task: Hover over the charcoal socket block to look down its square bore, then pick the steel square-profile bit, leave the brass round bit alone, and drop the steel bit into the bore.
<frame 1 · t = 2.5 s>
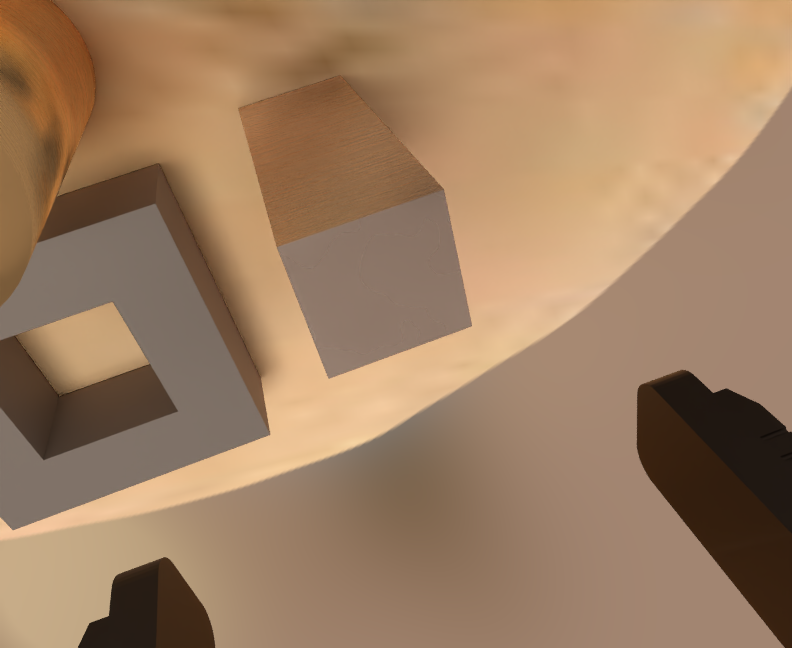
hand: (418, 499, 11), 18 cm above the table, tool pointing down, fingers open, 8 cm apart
square bit: (306, 142, 26), on the table
socket block: (88, 327, 27), on the table
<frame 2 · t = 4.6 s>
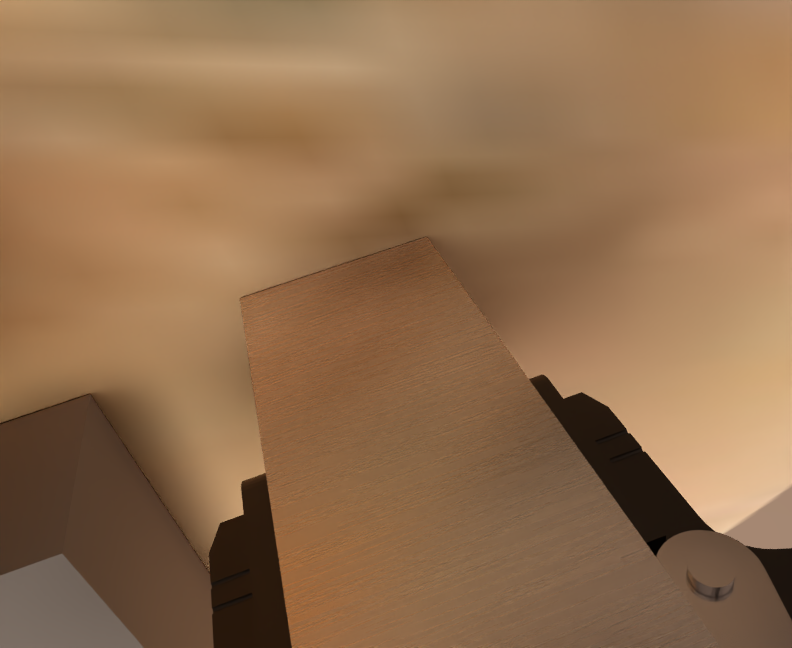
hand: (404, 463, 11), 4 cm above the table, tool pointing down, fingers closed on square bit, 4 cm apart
square bit: (358, 342, 15), on the table, touching gripper
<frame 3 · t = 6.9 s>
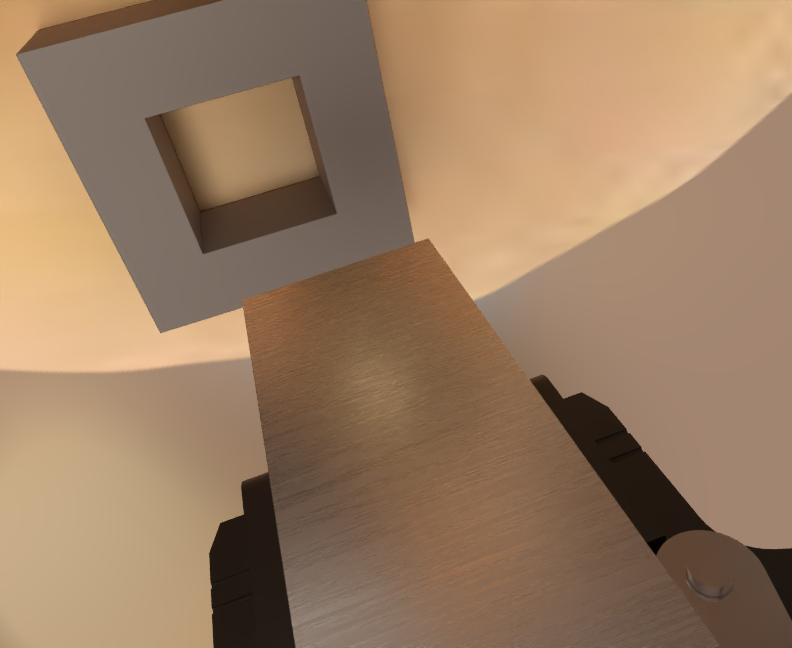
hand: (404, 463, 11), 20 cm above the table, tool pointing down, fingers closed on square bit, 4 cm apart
square bit: (360, 343, 15), point 16 cm above the table, touching gripper
socket block: (240, 135, 27), on the table
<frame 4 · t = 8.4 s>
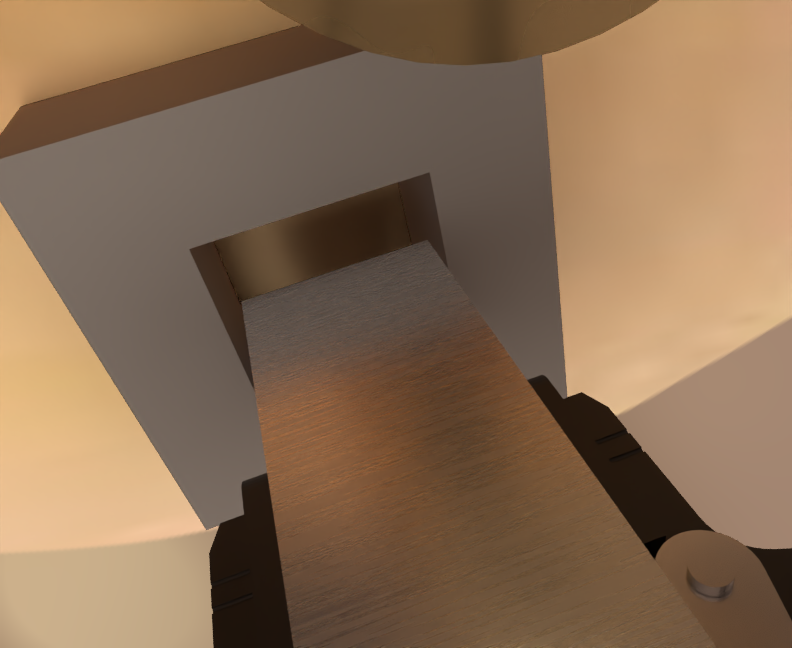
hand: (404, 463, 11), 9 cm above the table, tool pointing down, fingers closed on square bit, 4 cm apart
square bit: (359, 345, 15), point 5 cm above the table, touching gripper
socket block: (315, 238, 19), on the table
when the fingers open (6 cm above the table, at t = 9.4 s): square bit drops 2 cm, resting in socket block.
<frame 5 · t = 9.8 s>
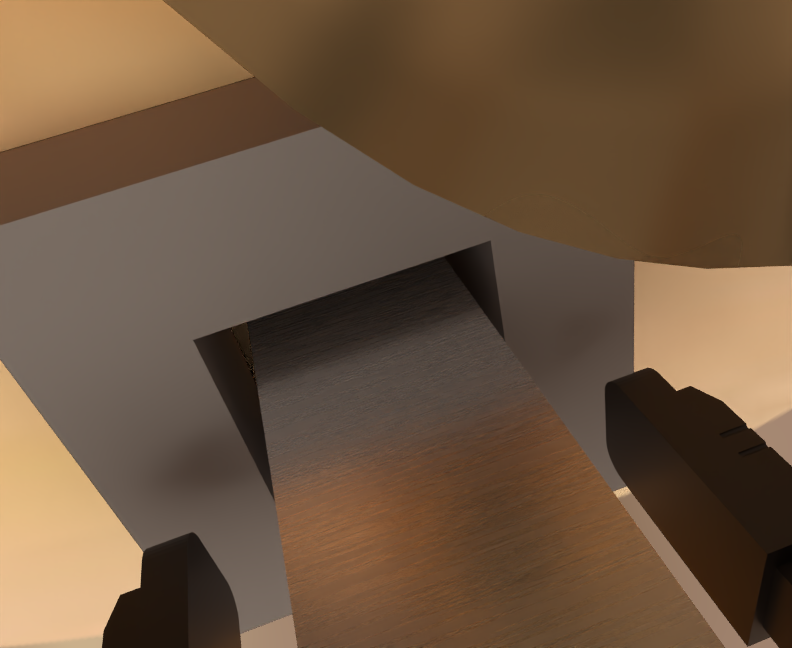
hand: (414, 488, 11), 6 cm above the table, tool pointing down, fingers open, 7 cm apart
square bit: (343, 298, 16), resting in socket block
socket block: (339, 299, 16), on the table
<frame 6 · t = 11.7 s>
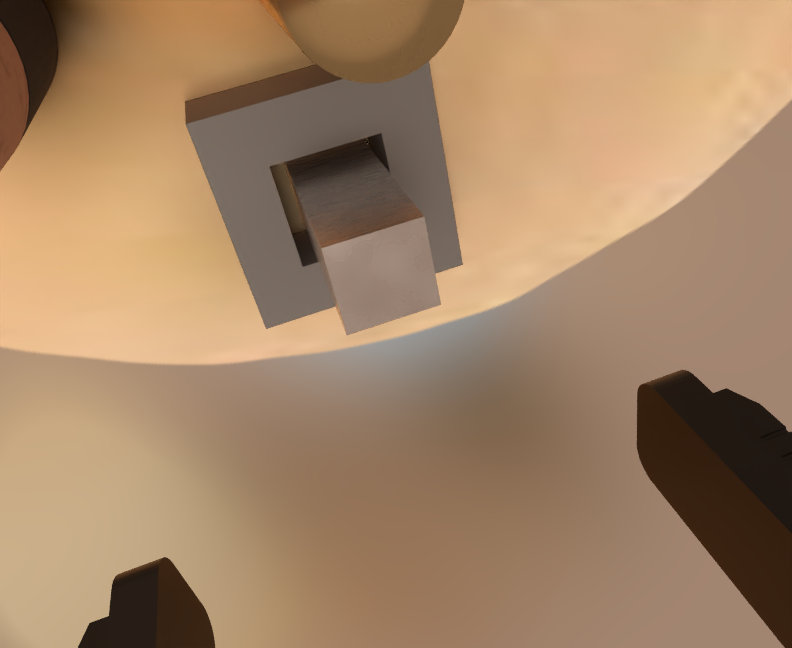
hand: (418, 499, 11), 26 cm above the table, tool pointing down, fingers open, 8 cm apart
square bit: (327, 175, 35), resting in socket block
socket block: (325, 175, 35), on the table
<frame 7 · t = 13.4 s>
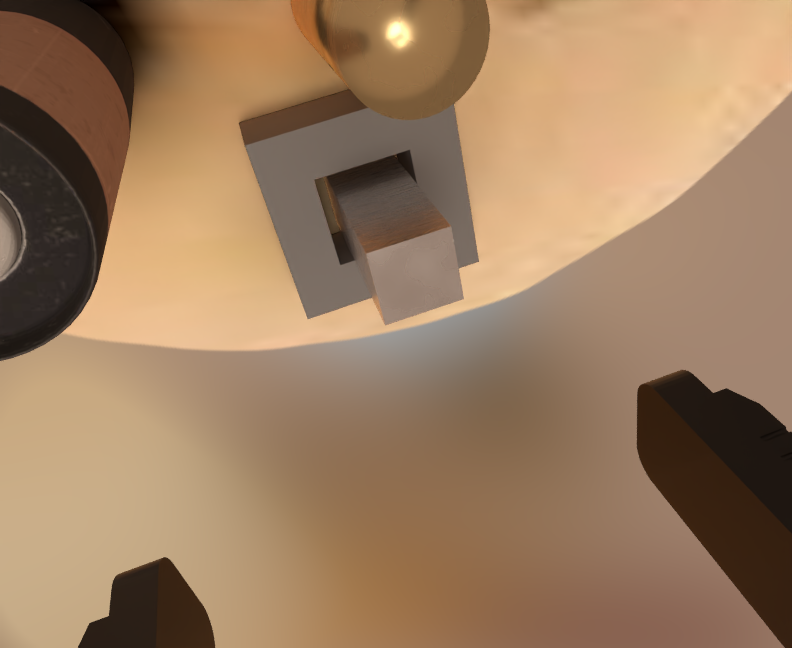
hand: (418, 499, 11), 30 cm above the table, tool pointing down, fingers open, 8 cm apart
travel mug: (57, 68, 33), on the table
square bit: (359, 183, 40), resting in socket block
socket block: (358, 183, 40), on the table
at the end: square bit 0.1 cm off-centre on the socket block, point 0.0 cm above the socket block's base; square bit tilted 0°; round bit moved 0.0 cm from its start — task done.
